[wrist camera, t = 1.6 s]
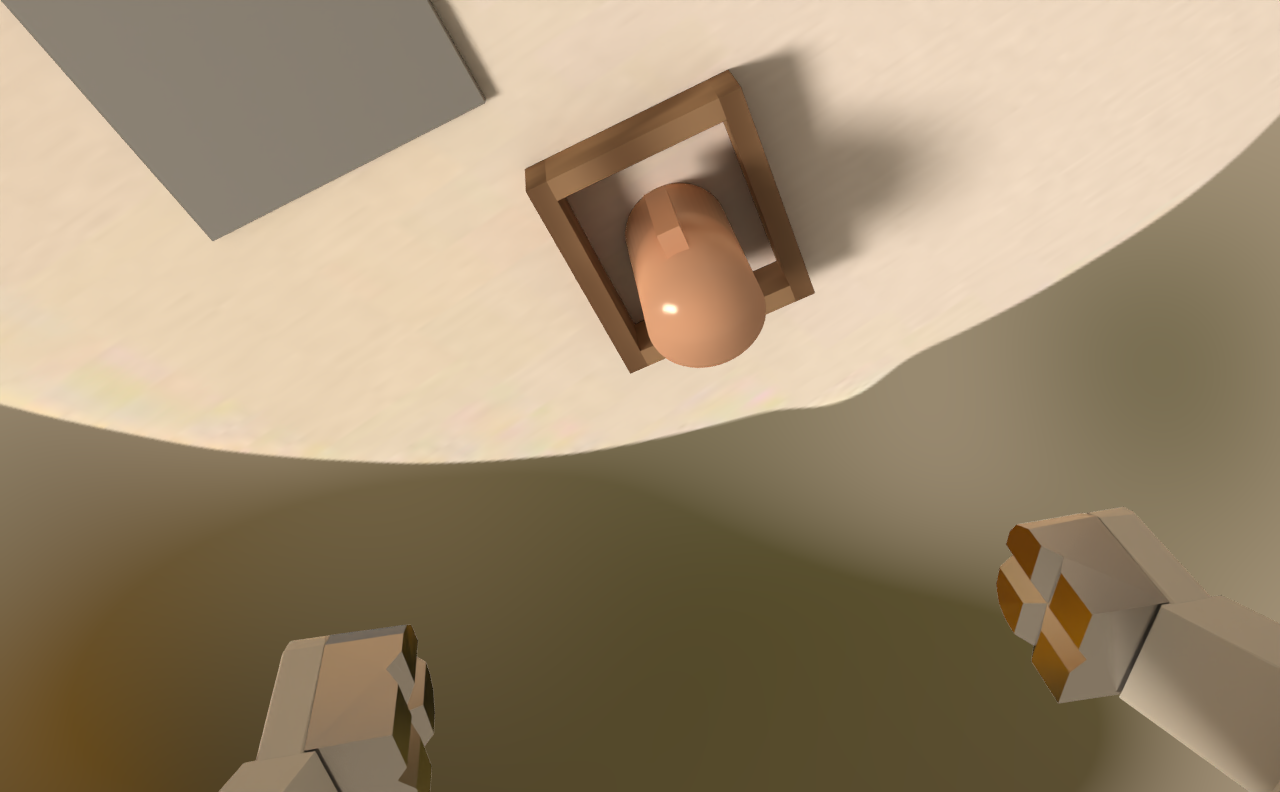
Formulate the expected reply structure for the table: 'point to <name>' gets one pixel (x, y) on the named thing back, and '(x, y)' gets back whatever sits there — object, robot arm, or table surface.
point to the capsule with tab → (692, 277)
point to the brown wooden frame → (635, 144)
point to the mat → (256, 89)
